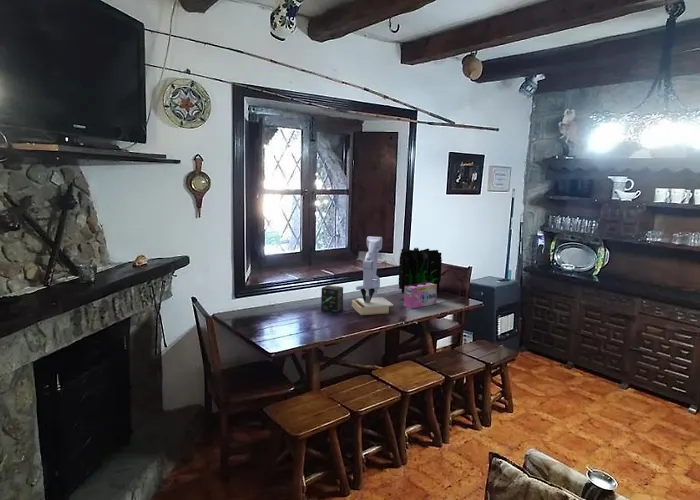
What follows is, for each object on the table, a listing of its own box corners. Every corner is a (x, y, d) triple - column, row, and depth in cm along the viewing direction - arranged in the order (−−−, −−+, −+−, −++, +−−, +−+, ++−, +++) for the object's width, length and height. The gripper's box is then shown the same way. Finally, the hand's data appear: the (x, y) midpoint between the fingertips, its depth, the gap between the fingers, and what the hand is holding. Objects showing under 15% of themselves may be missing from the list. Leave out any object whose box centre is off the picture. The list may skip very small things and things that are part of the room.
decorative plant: (446, 291, 347) (448, 251, 342) (423, 298, 325) (425, 255, 321) (414, 284, 366) (416, 246, 361) (390, 290, 345) (392, 250, 340)
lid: (356, 299, 299) (356, 292, 298) (382, 298, 304) (382, 291, 304) (365, 307, 282) (366, 300, 281) (393, 305, 287) (393, 298, 287)
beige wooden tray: (351, 307, 299) (352, 300, 298) (378, 305, 304) (378, 298, 303) (361, 315, 282) (361, 308, 281) (388, 313, 287) (388, 306, 287)
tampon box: (343, 309, 293) (343, 286, 291) (336, 313, 285) (337, 289, 283) (327, 306, 298) (328, 284, 296) (320, 310, 290) (321, 287, 287)
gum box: (429, 300, 319) (430, 281, 316) (437, 303, 312) (439, 284, 310) (403, 305, 305) (404, 285, 303) (411, 308, 298) (412, 288, 296)
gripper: (358, 281, 283) (358, 302, 285) (381, 280, 288) (380, 301, 290) (355, 278, 290) (354, 299, 292) (377, 277, 294) (376, 298, 296)
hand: (367, 300), depth 291 cm, fingers closed on lid, 3 cm apart
